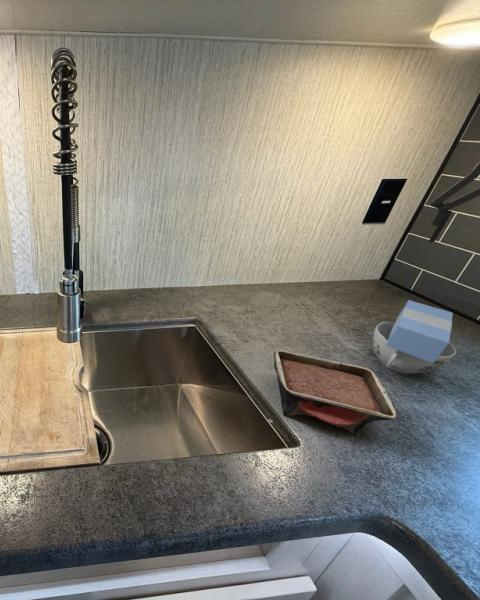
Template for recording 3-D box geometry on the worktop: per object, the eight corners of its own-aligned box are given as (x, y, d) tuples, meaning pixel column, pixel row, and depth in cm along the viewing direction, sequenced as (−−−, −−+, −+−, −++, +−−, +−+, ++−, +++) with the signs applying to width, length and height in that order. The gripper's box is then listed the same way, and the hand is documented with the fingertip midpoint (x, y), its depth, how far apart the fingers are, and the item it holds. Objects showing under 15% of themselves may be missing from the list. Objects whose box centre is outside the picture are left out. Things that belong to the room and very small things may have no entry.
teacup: (375, 341, 78) (392, 314, 74) (442, 372, 69) (466, 344, 64) (344, 361, 72) (361, 333, 67) (414, 398, 62) (438, 369, 58)
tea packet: (396, 318, 73) (408, 299, 70) (438, 332, 68) (453, 312, 65) (385, 345, 64) (398, 325, 61) (433, 363, 59) (449, 342, 57)
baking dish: (369, 458, 53) (411, 421, 48) (260, 411, 58) (288, 372, 53) (345, 402, 65) (377, 367, 60) (256, 366, 70) (278, 332, 65)
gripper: (452, 133, 60) (396, 238, 71) (702, 139, 45) (580, 272, 56) (453, 132, 65) (400, 230, 76) (681, 136, 49) (572, 260, 60)
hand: (476, 248), depth 66 cm, fingers open, 13 cm apart
